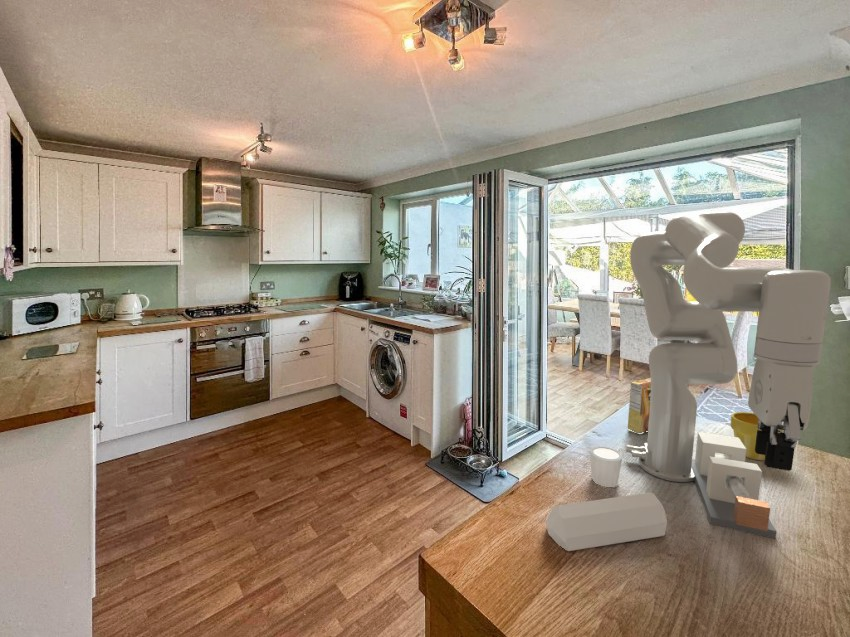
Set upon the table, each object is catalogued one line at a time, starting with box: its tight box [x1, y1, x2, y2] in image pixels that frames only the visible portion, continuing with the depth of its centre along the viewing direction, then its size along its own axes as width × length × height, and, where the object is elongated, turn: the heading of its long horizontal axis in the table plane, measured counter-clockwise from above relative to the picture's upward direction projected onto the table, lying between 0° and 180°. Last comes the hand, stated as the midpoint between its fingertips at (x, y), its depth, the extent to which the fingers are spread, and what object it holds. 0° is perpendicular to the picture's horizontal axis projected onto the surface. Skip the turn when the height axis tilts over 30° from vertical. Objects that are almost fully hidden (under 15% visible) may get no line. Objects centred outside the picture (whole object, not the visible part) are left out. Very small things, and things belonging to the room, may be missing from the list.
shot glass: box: [589, 446, 623, 488], centre depth 91 cm, size 7×7×7 cm
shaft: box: [723, 458, 771, 531], centre depth 79 cm, size 20×4×4 cm, turn 154°
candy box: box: [627, 377, 651, 433], centre depth 117 cm, size 9×4×15 cm, turn 116°
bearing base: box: [691, 431, 777, 540], centre depth 85 cm, size 24×10×10 cm, turn 154°
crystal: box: [545, 492, 668, 552], centre depth 74 cm, size 7×7×24 cm
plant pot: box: [730, 411, 784, 461], centre depth 102 cm, size 10×10×10 cm
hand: (772, 460), depth 63 cm, fingers open, 3 cm apart
